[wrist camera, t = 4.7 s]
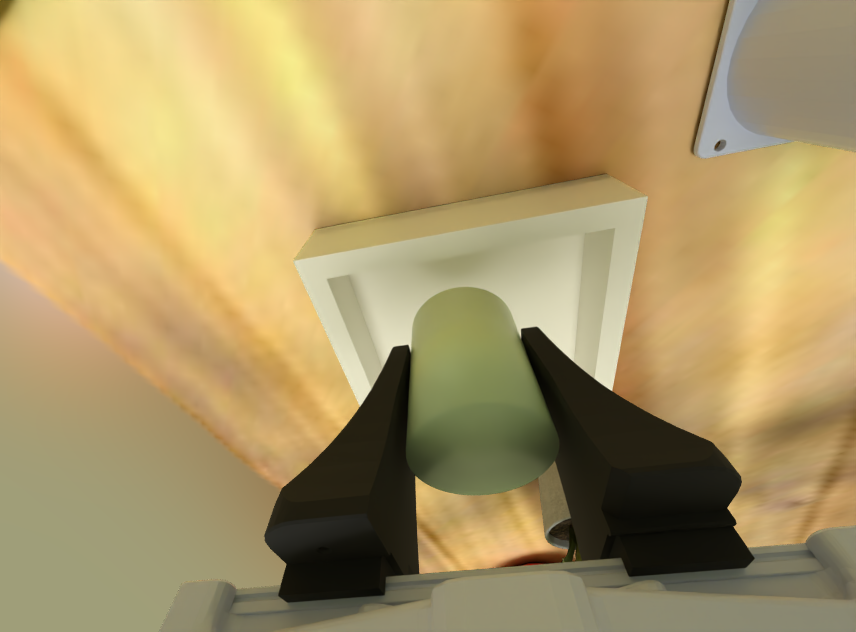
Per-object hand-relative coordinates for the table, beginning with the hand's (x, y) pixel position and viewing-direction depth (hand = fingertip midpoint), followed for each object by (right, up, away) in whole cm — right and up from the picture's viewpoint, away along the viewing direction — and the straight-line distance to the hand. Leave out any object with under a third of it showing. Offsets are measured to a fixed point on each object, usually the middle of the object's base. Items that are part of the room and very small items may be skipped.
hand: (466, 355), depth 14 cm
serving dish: (+1, +1, +9) cm, 10 cm away
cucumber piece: (0, +1, +1) cm, 2 cm away
